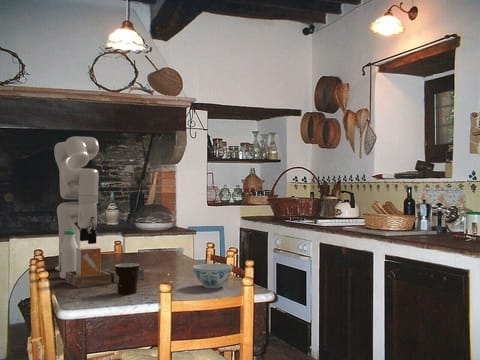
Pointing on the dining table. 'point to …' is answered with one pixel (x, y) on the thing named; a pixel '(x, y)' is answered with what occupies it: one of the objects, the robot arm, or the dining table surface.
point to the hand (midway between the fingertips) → (87, 242)
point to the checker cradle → (113, 274)
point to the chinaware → (212, 274)
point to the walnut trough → (88, 279)
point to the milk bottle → (68, 253)
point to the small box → (88, 261)
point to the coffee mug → (127, 278)
